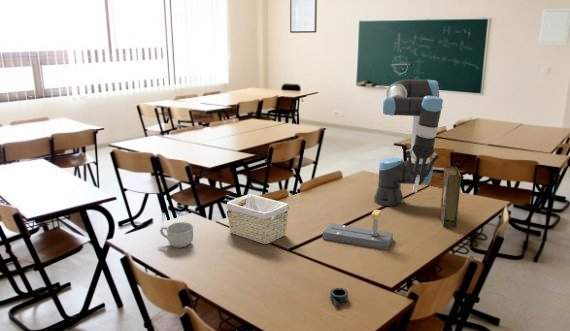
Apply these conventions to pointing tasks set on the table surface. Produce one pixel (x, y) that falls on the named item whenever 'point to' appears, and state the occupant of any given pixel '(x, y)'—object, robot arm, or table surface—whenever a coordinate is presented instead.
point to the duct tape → (338, 296)
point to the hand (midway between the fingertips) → (414, 191)
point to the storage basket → (258, 218)
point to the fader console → (357, 236)
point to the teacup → (179, 234)
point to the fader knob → (375, 222)
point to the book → (450, 196)
